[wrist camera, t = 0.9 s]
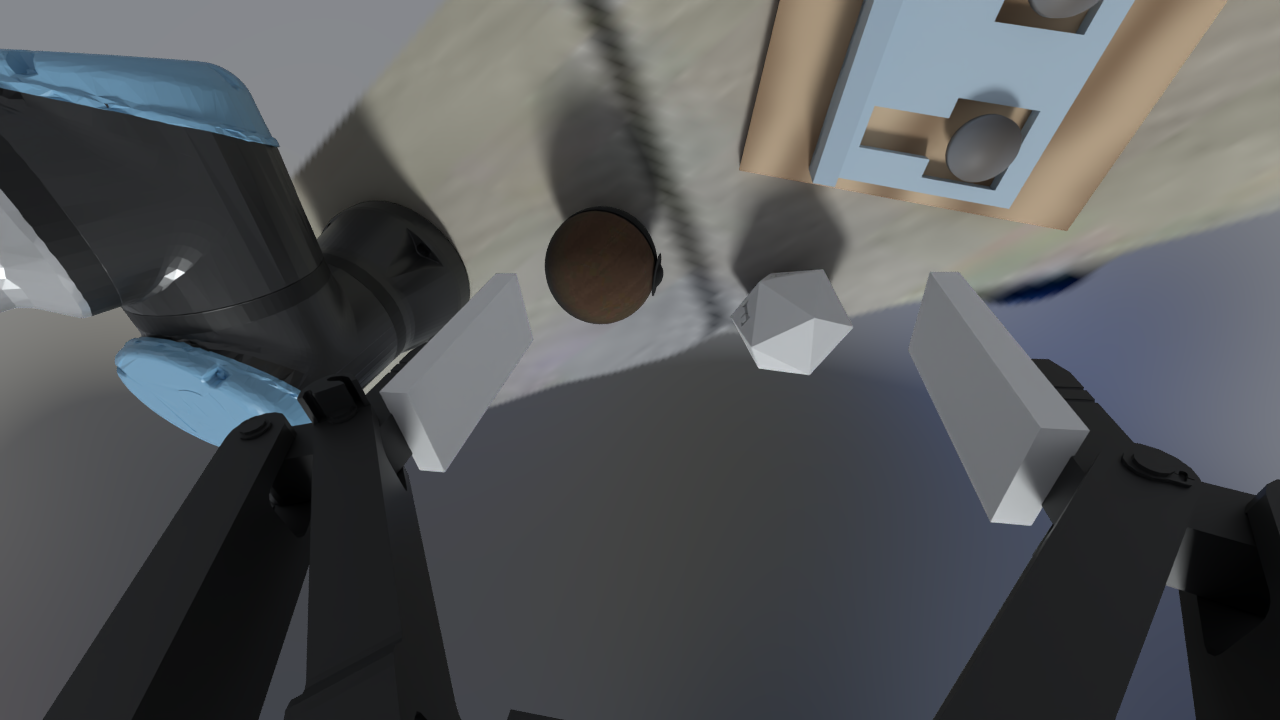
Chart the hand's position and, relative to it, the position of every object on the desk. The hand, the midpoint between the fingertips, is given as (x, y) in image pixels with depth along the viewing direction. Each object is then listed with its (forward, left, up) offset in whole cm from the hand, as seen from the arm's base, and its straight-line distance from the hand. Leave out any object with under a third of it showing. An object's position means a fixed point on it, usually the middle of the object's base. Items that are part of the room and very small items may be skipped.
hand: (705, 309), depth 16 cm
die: (+7, -12, -27) cm, 30 cm away
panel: (+12, +7, -25) cm, 29 cm away
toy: (-9, -10, -27) cm, 30 cm away
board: (+12, +7, -26) cm, 30 cm away
